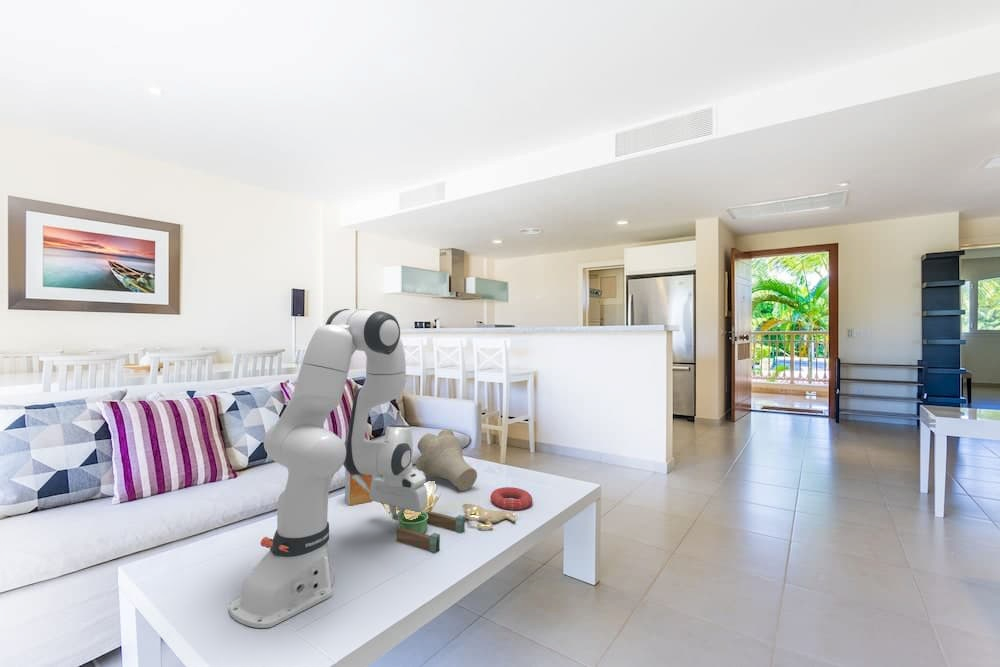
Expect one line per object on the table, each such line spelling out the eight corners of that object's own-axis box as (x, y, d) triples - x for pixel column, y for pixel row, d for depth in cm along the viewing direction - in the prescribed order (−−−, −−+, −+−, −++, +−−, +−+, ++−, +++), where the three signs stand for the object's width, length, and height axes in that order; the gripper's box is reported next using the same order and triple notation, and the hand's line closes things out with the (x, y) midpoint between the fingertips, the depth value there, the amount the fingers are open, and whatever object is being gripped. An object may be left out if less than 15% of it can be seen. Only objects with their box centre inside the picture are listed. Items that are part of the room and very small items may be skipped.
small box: (349, 506, 155) (349, 469, 155) (344, 500, 160) (345, 464, 160) (372, 501, 159) (373, 465, 159) (367, 495, 165) (367, 460, 164)
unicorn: (445, 504, 148) (481, 494, 161) (444, 516, 148) (480, 505, 161) (489, 522, 135) (524, 510, 147) (488, 536, 134) (523, 522, 147)
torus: (540, 506, 159) (541, 496, 159) (509, 515, 151) (509, 505, 150) (512, 492, 172) (512, 482, 172) (482, 500, 163) (482, 490, 163)
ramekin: (397, 525, 141) (397, 511, 141) (426, 522, 143) (426, 509, 143) (399, 539, 132) (399, 524, 132) (429, 535, 135) (429, 521, 134)
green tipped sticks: (435, 553, 124) (435, 537, 124) (395, 541, 131) (396, 526, 131) (464, 530, 138) (464, 516, 138) (427, 520, 145) (427, 507, 144)
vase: (503, 454, 172) (461, 422, 195) (455, 455, 157) (415, 420, 179) (485, 509, 175) (445, 471, 197) (436, 515, 159) (399, 473, 182)
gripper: (365, 473, 142) (364, 516, 142) (418, 484, 133) (417, 530, 133) (379, 467, 147) (378, 509, 148) (430, 478, 138) (429, 522, 139)
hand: (397, 519), depth 140 cm, fingers closed
